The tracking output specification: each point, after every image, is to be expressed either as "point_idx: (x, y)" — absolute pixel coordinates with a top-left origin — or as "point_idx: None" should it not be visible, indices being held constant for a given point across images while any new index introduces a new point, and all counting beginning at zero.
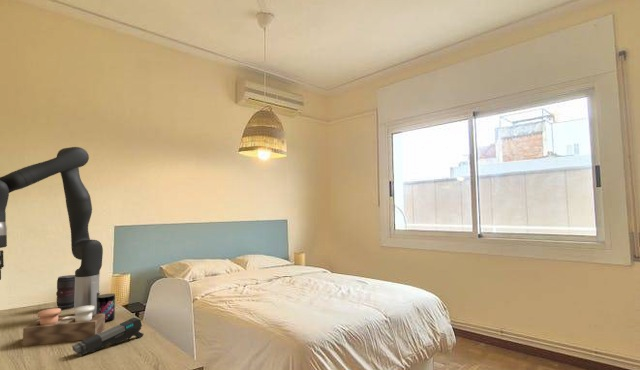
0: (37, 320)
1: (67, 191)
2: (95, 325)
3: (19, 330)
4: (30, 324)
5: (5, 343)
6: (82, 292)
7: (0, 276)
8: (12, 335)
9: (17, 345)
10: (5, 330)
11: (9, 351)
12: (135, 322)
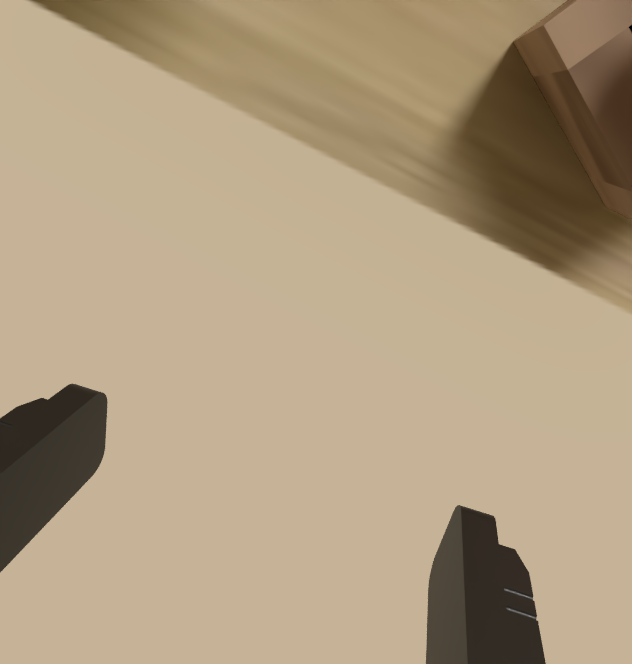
0: (566, 52)
1: None
2: None
3: (235, 17)
4: (617, 149)
5: (434, 211)
6: None
7: (496, 559)
8: (309, 104)
9: (553, 208)
10: (138, 57)
11: (606, 280)
12: None
